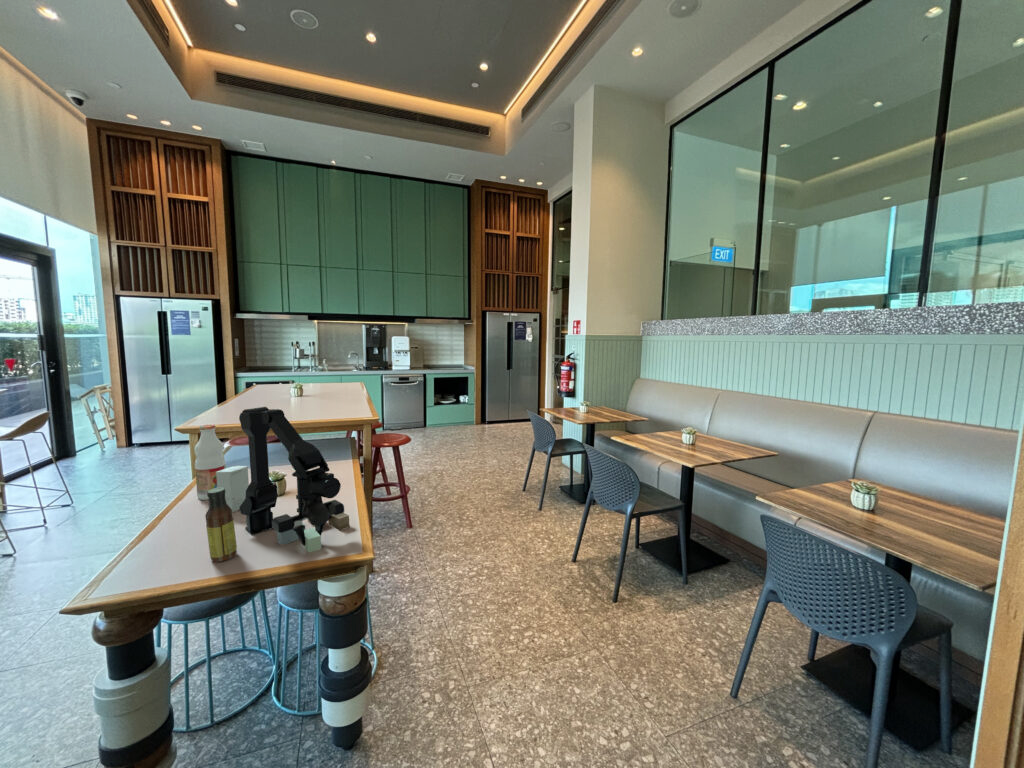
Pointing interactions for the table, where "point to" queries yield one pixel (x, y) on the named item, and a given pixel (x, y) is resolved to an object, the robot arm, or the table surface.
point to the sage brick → (312, 540)
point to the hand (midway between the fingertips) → (311, 542)
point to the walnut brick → (339, 521)
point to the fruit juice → (208, 460)
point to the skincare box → (234, 485)
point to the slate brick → (287, 536)
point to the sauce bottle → (220, 527)
